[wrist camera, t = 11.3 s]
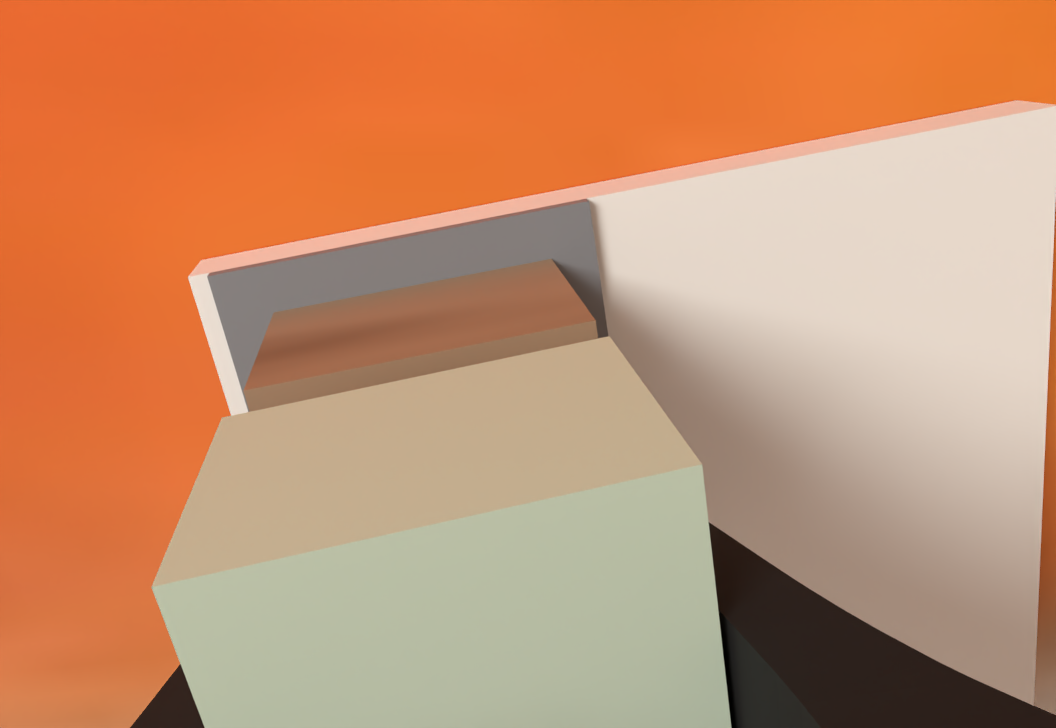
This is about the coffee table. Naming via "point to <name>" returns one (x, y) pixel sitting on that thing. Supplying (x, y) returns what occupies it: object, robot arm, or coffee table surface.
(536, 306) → the walnut brick
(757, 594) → the robot arm
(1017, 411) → the board
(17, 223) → the coffee table surface
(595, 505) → the sage brick
